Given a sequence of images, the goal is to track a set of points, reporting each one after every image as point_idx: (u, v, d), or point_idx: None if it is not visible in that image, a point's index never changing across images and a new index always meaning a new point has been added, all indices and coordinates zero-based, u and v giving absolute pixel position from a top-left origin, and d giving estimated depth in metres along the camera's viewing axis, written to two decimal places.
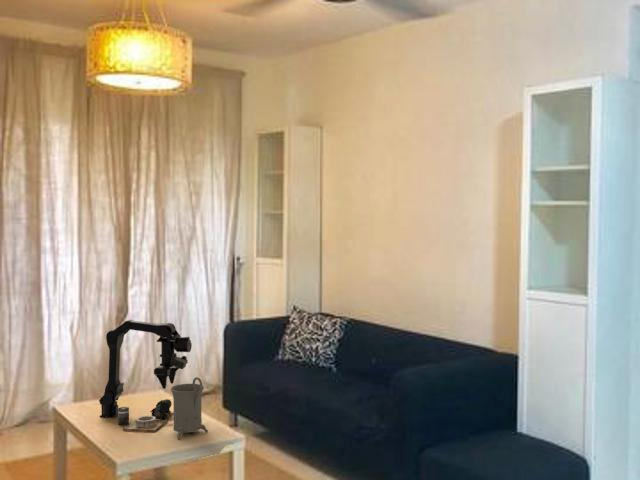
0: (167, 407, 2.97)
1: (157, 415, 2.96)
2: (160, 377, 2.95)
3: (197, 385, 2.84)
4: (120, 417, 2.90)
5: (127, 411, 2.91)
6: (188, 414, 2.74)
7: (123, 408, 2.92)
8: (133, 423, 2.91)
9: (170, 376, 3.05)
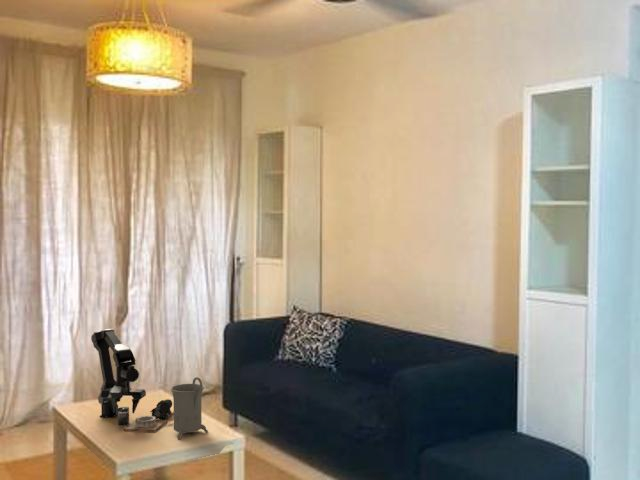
0: (167, 407, 2.97)
1: (157, 415, 2.96)
2: None
3: (197, 385, 2.84)
4: (120, 417, 2.90)
5: (127, 411, 2.91)
6: (188, 414, 2.74)
7: (123, 408, 2.92)
8: (133, 423, 2.91)
9: None
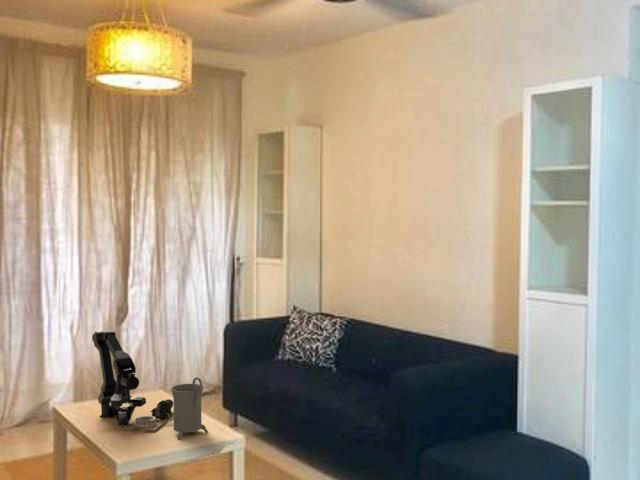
0: (167, 407, 2.97)
1: (157, 415, 2.96)
2: None
3: (197, 385, 2.84)
4: (120, 417, 2.90)
5: (127, 411, 2.91)
6: (188, 414, 2.74)
7: (123, 408, 2.92)
8: (133, 423, 2.91)
9: None
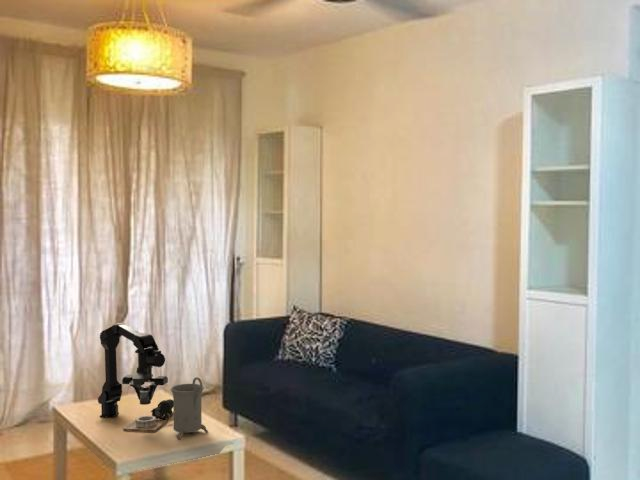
0: (167, 407, 2.97)
1: (157, 415, 2.96)
2: None
3: (197, 385, 2.84)
4: (142, 396, 2.86)
5: (149, 390, 2.87)
6: (188, 414, 2.74)
7: (145, 387, 2.88)
8: (133, 423, 2.91)
9: None
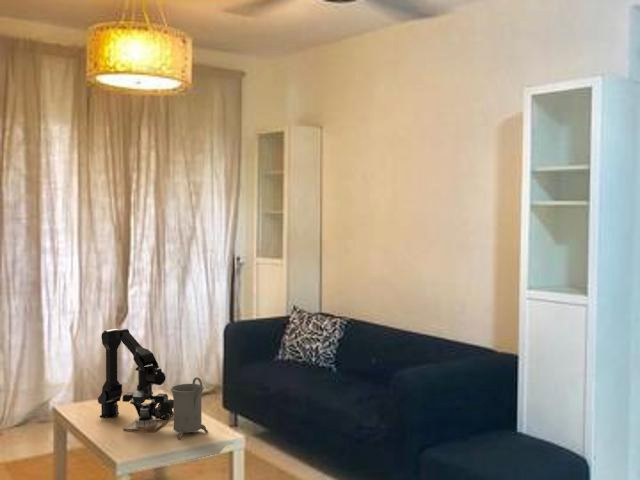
0: (168, 407, 2.97)
1: (158, 415, 2.96)
2: None
3: (197, 385, 2.84)
4: (142, 414, 2.87)
5: (149, 408, 2.88)
6: (188, 414, 2.74)
7: (145, 404, 2.88)
8: (133, 423, 2.91)
9: None
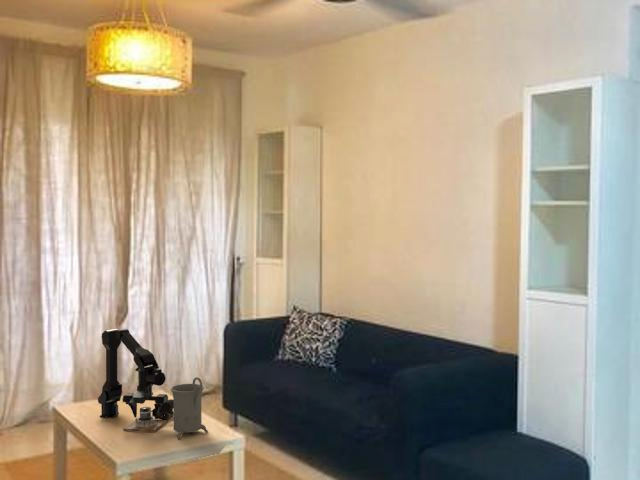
0: (168, 407, 2.97)
1: (158, 415, 2.96)
2: None
3: (197, 385, 2.84)
4: (142, 417, 2.87)
5: (149, 411, 2.88)
6: (188, 414, 2.74)
7: (145, 408, 2.88)
8: (133, 423, 2.91)
9: None
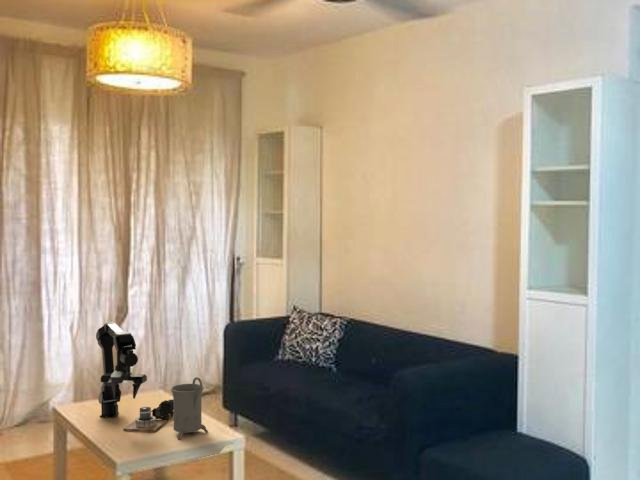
0: (168, 407, 2.97)
1: (158, 415, 2.96)
2: None
3: (197, 385, 2.84)
4: (142, 417, 2.87)
5: (149, 411, 2.88)
6: (188, 414, 2.74)
7: (145, 408, 2.88)
8: (133, 423, 2.91)
9: None
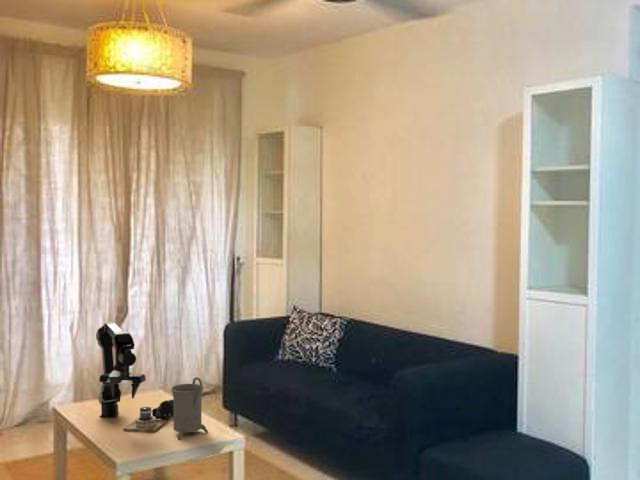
0: (168, 408, 2.97)
1: (158, 415, 2.96)
2: None
3: (197, 385, 2.84)
4: (142, 417, 2.87)
5: (149, 411, 2.88)
6: (188, 414, 2.74)
7: (145, 408, 2.89)
8: (133, 423, 2.91)
9: None
